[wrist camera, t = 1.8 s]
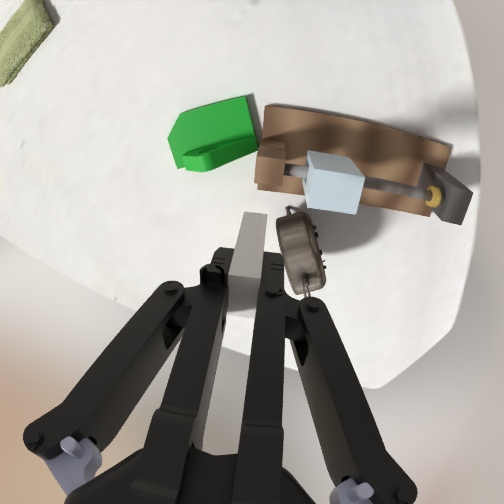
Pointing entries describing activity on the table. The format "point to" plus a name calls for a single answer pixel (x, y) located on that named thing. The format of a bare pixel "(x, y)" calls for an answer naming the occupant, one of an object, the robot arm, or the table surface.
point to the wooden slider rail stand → (361, 162)
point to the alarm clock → (300, 252)
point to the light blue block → (332, 183)
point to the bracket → (213, 135)
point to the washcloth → (22, 37)
